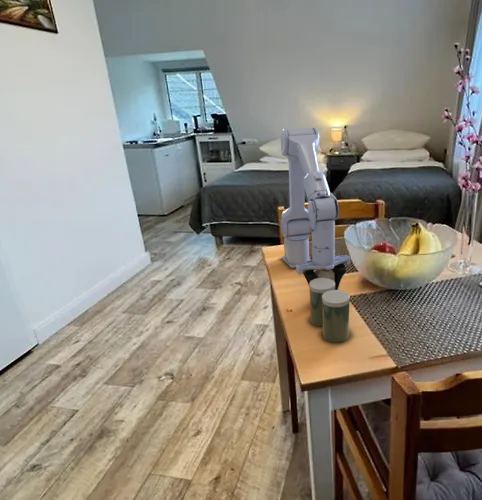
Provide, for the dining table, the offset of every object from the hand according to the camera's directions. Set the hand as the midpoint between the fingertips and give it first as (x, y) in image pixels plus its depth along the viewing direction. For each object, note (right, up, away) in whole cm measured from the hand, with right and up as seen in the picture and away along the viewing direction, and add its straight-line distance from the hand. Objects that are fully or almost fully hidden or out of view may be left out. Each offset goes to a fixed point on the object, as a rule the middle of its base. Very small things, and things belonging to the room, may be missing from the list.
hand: (324, 293), depth 101 cm
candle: (0, -3, +1) cm, 3 cm away
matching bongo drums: (+1, -7, -10) cm, 12 cm away
